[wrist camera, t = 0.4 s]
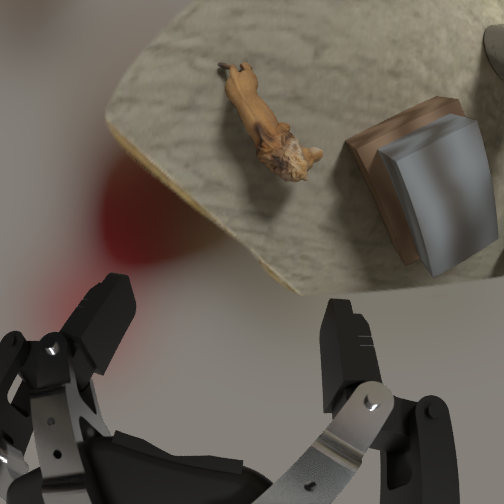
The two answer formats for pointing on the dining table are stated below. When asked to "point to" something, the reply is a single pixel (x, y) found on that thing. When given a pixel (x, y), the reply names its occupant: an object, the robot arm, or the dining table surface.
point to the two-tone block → (430, 183)
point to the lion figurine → (268, 128)
